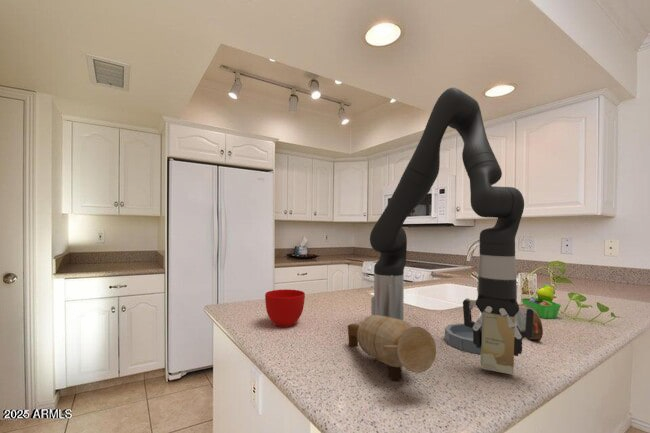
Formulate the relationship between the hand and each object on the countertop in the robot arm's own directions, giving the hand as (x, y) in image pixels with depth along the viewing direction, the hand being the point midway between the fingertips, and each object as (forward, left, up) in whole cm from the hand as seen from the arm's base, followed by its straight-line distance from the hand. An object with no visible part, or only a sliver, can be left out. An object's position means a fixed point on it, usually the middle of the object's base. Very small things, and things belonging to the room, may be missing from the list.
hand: (496, 350), depth 69 cm
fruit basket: (+8, +64, -5) cm, 65 cm away
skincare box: (0, 0, -4) cm, 4 cm away
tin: (+4, +34, -5) cm, 35 cm away
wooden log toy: (-21, -12, -5) cm, 25 cm away
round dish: (-7, +17, -5) cm, 19 cm away
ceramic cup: (-63, -1, -5) cm, 63 cm away
